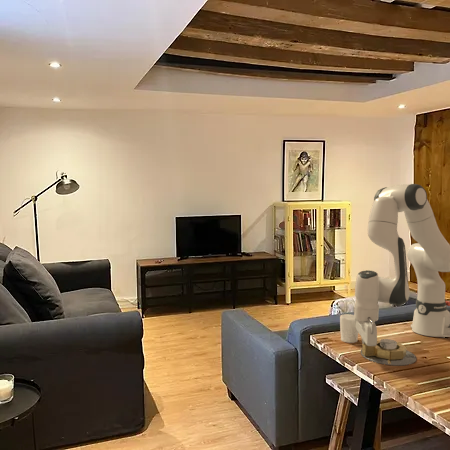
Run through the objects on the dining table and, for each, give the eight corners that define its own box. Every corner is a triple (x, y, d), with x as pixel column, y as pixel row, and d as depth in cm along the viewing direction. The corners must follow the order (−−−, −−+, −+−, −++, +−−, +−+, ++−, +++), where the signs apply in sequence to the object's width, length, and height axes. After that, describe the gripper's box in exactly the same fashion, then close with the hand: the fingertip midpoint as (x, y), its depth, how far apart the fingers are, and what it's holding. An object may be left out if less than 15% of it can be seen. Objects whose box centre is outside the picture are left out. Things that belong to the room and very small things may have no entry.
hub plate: (384, 343, 190) (385, 330, 189) (428, 359, 173) (428, 345, 172) (349, 352, 179) (349, 338, 179) (391, 369, 162) (392, 354, 162)
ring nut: (394, 347, 183) (394, 337, 183) (411, 358, 171) (411, 347, 171) (356, 349, 180) (356, 339, 180) (371, 360, 168) (371, 350, 168)
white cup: (359, 344, 189) (360, 320, 188) (339, 342, 190) (340, 318, 189) (358, 337, 196) (358, 314, 195) (338, 336, 198) (339, 313, 197)
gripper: (382, 322, 165) (380, 359, 167) (368, 306, 185) (367, 340, 187) (364, 322, 166) (363, 359, 167) (352, 306, 186) (351, 339, 187)
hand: (365, 349), depth 177 cm, fingers closed
